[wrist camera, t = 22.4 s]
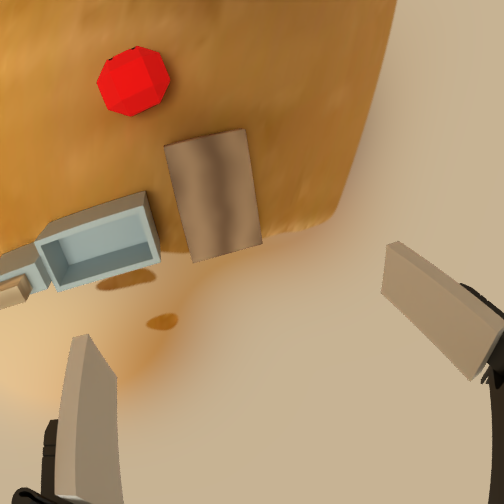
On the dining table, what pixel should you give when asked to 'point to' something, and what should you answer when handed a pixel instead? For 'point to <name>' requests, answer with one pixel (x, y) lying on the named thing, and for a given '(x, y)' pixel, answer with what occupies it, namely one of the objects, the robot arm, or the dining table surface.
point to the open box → (100, 242)
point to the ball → (133, 81)
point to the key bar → (14, 291)
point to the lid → (215, 193)
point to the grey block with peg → (25, 267)
